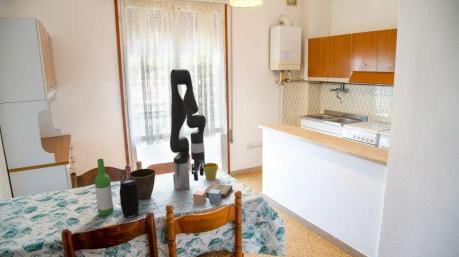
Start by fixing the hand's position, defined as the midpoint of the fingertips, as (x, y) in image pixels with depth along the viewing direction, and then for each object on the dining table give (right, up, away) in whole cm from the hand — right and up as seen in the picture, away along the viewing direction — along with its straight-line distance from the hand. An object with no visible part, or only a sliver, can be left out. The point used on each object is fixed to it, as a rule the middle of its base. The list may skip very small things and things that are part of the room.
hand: (199, 178), depth 181 cm
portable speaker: (-35, -18, -12) cm, 41 cm away
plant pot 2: (+4, -7, +40) cm, 40 cm away
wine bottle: (-49, -18, -9) cm, 53 cm away
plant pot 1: (-33, -14, +9) cm, 37 cm away
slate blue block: (+9, -14, +4) cm, 17 cm away
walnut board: (+10, -11, +15) cm, 22 cm away
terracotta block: (0, -14, +3) cm, 14 cm away
